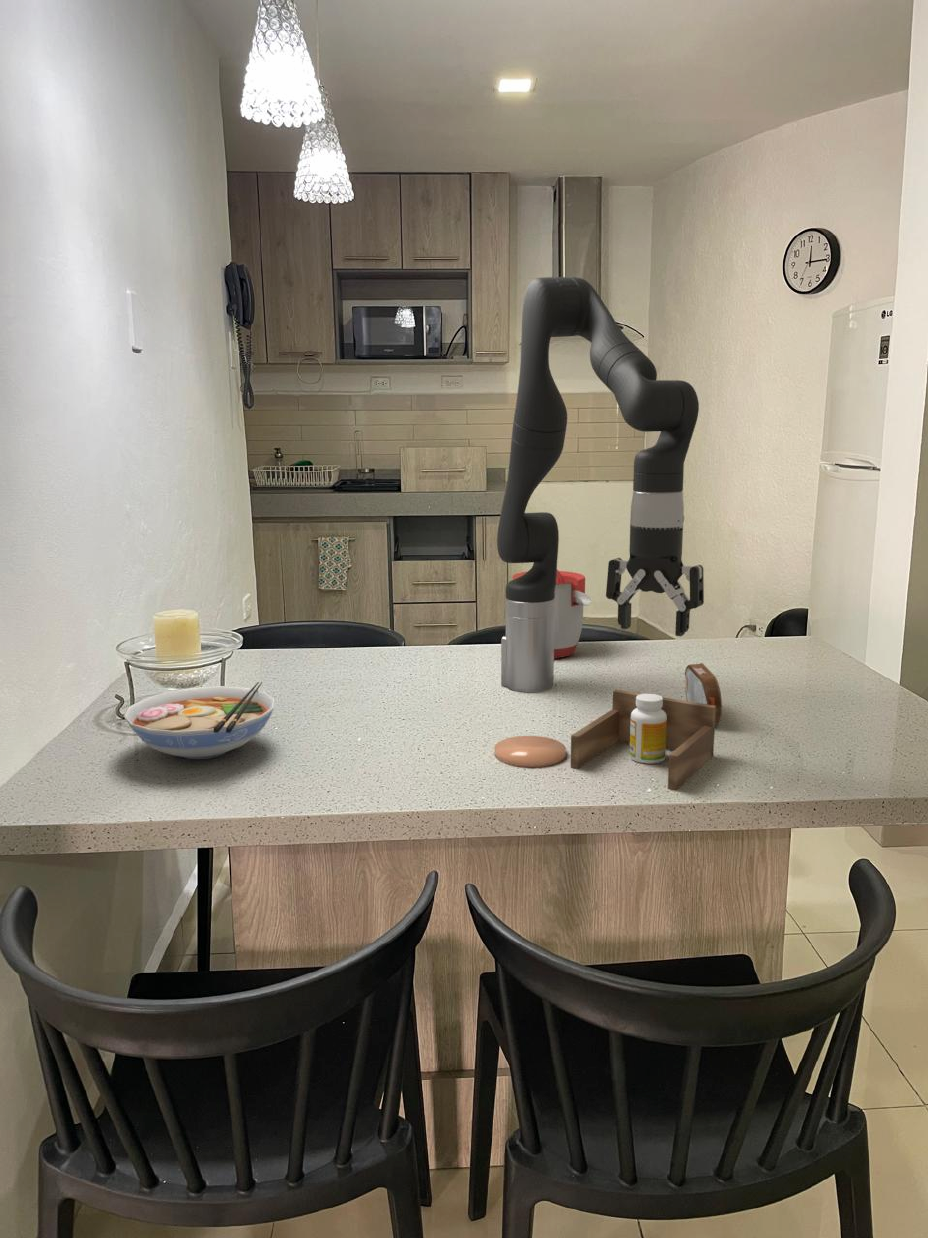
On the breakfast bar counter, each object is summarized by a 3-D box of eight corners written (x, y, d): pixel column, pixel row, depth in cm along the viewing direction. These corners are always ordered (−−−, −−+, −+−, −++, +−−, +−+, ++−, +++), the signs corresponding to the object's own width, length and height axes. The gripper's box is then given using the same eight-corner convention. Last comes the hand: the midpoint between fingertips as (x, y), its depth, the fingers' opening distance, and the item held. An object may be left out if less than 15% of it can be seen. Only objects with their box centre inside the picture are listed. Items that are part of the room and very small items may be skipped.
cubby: (570, 767, 141) (571, 716, 140) (614, 736, 154) (616, 689, 153) (675, 790, 133) (678, 736, 131) (713, 755, 146) (715, 705, 144)
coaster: (481, 758, 145) (481, 752, 145) (516, 737, 154) (517, 731, 154) (544, 772, 139) (544, 766, 139) (577, 750, 148) (578, 744, 148)
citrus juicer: (570, 667, 195) (572, 571, 191) (498, 655, 205) (498, 564, 200) (603, 650, 208) (605, 560, 204) (533, 641, 217) (534, 554, 213)
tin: (722, 730, 157) (725, 681, 155) (703, 730, 157) (705, 681, 155) (698, 702, 172) (700, 657, 170) (681, 702, 172) (683, 657, 170)
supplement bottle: (672, 757, 145) (674, 696, 143) (653, 767, 141) (655, 705, 139) (641, 749, 149) (643, 689, 146) (622, 758, 145) (624, 697, 143)
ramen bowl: (159, 725, 162) (155, 679, 160) (293, 725, 161) (290, 679, 159) (100, 782, 137) (94, 728, 135) (256, 782, 137) (253, 728, 135)
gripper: (600, 522, 138) (597, 631, 141) (695, 528, 130) (690, 643, 134) (621, 517, 144) (618, 621, 147) (713, 522, 136) (708, 632, 140)
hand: (652, 631), depth 141 cm, fingers open, 8 cm apart
